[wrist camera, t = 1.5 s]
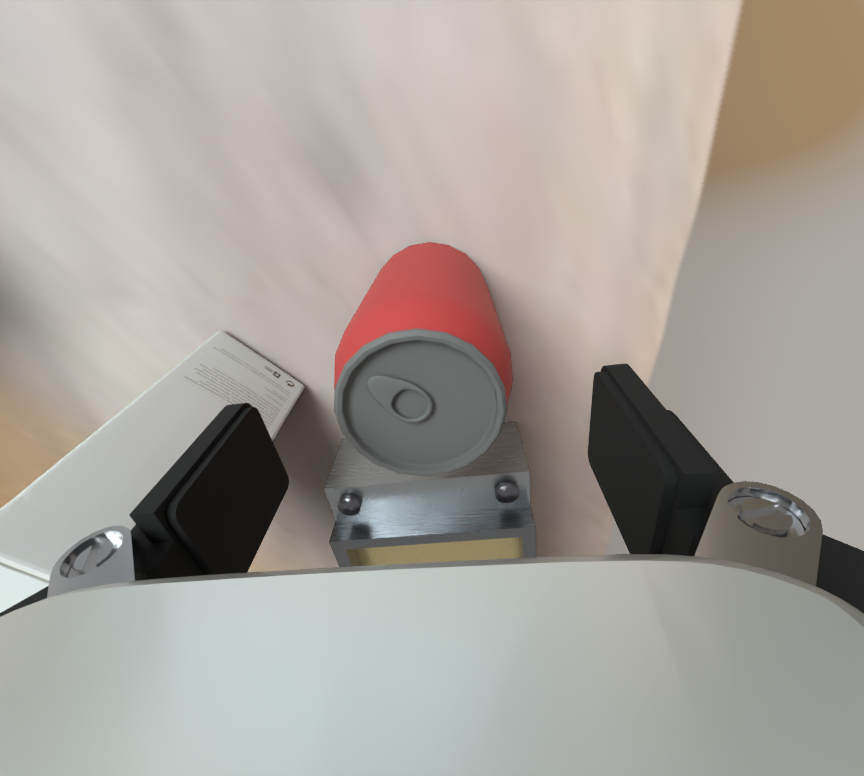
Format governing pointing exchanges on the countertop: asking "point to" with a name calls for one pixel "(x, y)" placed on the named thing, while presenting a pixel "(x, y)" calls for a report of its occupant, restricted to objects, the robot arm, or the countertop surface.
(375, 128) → the countertop surface
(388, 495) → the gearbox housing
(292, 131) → the countertop surface
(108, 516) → the skincare box
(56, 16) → the countertop surface
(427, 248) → the beer can
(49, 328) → the countertop surface
